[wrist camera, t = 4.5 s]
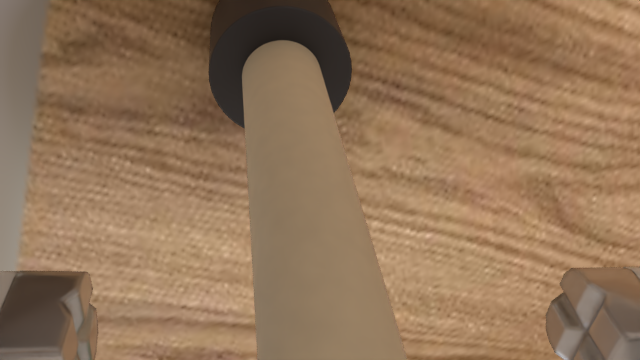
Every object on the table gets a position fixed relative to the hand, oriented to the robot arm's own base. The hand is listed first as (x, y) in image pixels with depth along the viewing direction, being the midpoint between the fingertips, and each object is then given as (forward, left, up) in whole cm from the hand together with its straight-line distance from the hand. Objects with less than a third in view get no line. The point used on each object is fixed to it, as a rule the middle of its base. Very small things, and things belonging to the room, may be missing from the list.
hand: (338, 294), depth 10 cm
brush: (0, 0, -11) cm, 11 cm away
